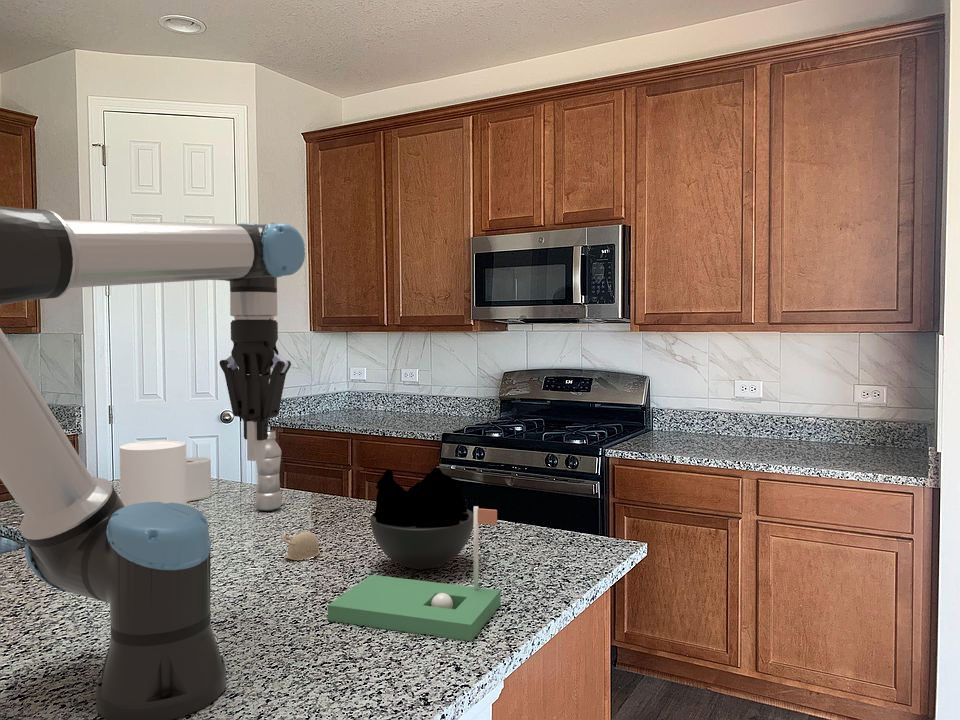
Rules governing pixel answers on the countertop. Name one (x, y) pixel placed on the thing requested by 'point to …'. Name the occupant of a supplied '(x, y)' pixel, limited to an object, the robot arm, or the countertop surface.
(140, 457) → the canister
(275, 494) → the plastic bottle
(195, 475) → the toilet tissue
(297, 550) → the decorative ornament
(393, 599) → the green
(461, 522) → the coal bowl
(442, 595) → the ball
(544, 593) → the countertop surface
